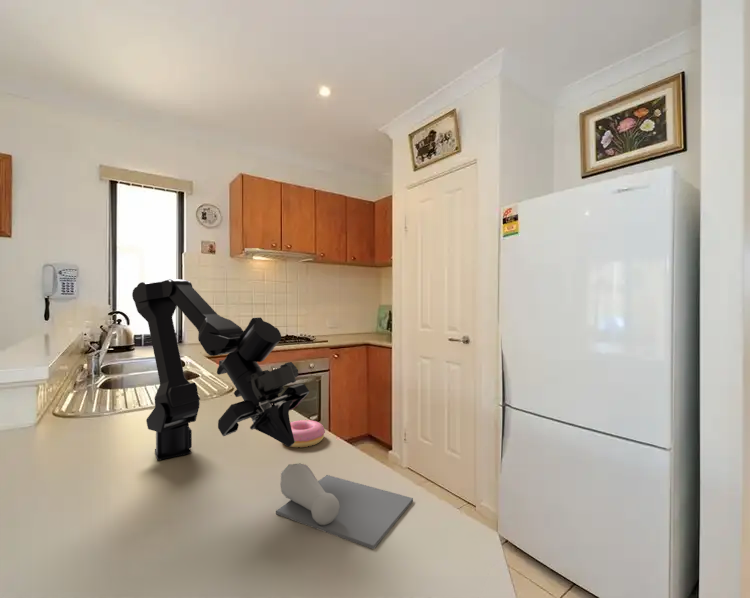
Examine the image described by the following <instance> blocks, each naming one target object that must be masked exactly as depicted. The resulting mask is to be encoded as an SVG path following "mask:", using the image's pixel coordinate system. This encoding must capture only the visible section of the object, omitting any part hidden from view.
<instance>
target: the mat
mask: <svg viewBox="0 0 750 598" xmlns="http://www.w3.org/2000/svg"><path fill="white" fill-rule="evenodd" d="M318 482H319V484H320V485H321V487H322V488H323V490H324V491H325V492H326V493H331V494H333V495H334V496H335V497H336V498H337V500H338V501H339V506H340V508H339V512H338V515H337V516H336V518H335V519H334V520H333V521H332V522H331V523H329V524H327V525H320V524H318V523H317V522H316V521H315V520H314V519H313V517H312V513H311V510H309V509H307V508H305V507H303V506H301V505H299V504H297V503H296V502H294V501H292V500H290V499H289V501H288V502H286V503H284V504H283V505H282V506H280V507H278V508H277V509H276V510H275V514H276V515H278V516H281V517H284V518H285V519H288V520H289V519H290V520H292V521H295V522H297V523H300V524H302V525H306V526H308V527H311V528H314V529H316V530H320V531H323V532H325V533H328V534H330V535H333V536H336V537H339V538H342V539H344V540H348V541H350V542H352V543H355V544H357V545H361V546H364V547H366V548H369V549H371V550H374V549H376V547H377V546H378V545H379V543H380V542H381V541H382V540H383V538H384V537H385V536H386V535H387V534H388V533H389V531H390V530H391V529H392V528H393V527H394V525H395V524H396V522H398V520H399V519H400V517H401V516H402V515H403V514H404V513H405V512H406V511H407V509H408V508H409V507H410V506H411V504H412V503H413V502H414V497H410V496H407V495H402V494H399V493H395V492H392V491H388V490H386V489H385V490H384V489H382V488H381V489H380V488H377V487H374V486H370V485H366V484H362V483H359V482H354V481H351V480H348V479H345V478H340V477H336V476H333V475H330V474H326V475H324V476H323V477H322V478H320V479H319V480H318Z"/></svg>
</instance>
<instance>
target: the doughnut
mask: <svg viewBox="0 0 750 598" xmlns="http://www.w3.org/2000/svg"><path fill="white" fill-rule="evenodd" d="M290 424H291V429H292V433H293V437H294V441H295V442H294V444H293V445H292V446H290V447H289V448H298V447H300V448H308V446H309V447H313V446H315V445H318V444H319V443H320V442H321V441H322V440H323V438H324V437H325V433H326V430H325V426H324V425H323V424H322V423H320V422H319V421H316V420H312V419H310V420H309V419H301V420H300V419H299V420H294V421H290ZM312 445H313V446H312Z"/></svg>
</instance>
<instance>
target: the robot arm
mask: <svg viewBox="0 0 750 598" xmlns="http://www.w3.org/2000/svg"><path fill="white" fill-rule="evenodd" d="M131 294H132V295H131V297H132V299H133V302H134V305H135V308H136V311H137V313H139V315H140V316H141V317H142V318H143V319H144V320H145V321H146V322H147V325H148V328H149V333H150V335H149V336H150V338H151V344H152V349H153V355H154V359H155V364H156V365H155V366H156V370H157V376H158V381H159V386H158V389H157V390H156V392H155V393H156V394H155V395H154V408H153V410H152V411H151V413H150V414H149V415H148V417H147V418H146V420H145V421H146V426H147V429H148V430H149V431H153V432H155V448H154V453H155V457H156V459H157V461H163V460H166V459H167V460H168V459H171V458H176V457H179V456H184V455H189V454H191V452H192V451H191V449H192V445H193V443H192V442H193V441H192V433H193V432H192V429H191V427H190V426H189V425H190V424H189V423H194V422H197V417H198V413H199V409H200V405H201V404H200V400H201V397H200V395H199V392H198V385H197V384H196V382H190V381H189V380H188V379H187V378H186V377H185V373H184V369H183V363H182V359H181V358H182V357H181V354H180V353H181V352H180V350H179V343H178V338H177V335H176V329H175V326H174V320H173V316H174V314H175V312H176V309H177V308H178V309H179V310H180V311H181V312H182V314H184V316H185V317H186V318H187V319H188V320H189V322H191V324H192V325H193V327H195V329H196V330H197V331H198V338H197V339H198V342H199V344H200V346H202V349H203V350H204V351H205V353H206V354H207V355H209V356H211V357H212V356H213V357H215V356H222V355H226V357H225V358H224V359H220V360H219V362H218V367H217V369H216V373H217V375H224V374H227V376H228V377H229V379H230V380H231V381H232V383H233V385H234V387H235V388H236V389H235V391H234V392H233V394H234V397H236V398H239V397H241V398H242V401H239V402H235V403H233V404H231V405H230V406H229V407H228V408H227V409H226V411H225V412H224V413H223V414H222V415H221V417H220V418H219V419H218V421H217V428H218V431H220V434H221V435H222V437H226V436H228V435H231V434H233V433H236V432H237V431H238V428H239V426H240V425H239V423H240V422H242V421H246V420H248V419H250V418H251V421H252V424H251V425H250V426H249V429H250V431H253V430H256V431H258V432H260V433H263V434H265V435H267V436H269V437H271V438H273V439H274V440H276V441H278V442H279V443H281V444H282V445H285V446H287V447H288V448H291V447H290V446H292V445H293V444H294V442H295V441H294V437H293V433H292V429H291V424H290V422H291V421H290V415H289V414H290V411H292V410H294V409H295V408H297V406H298V405H299V404H300V403H301V402H302V401H303V400H304V399H305V398H306V397H307V396H308V395H309V393H310V390H309V389H308V386H307V385H305V383H297V384H295V385H291V386H290V385H289V384H291V383H292V384H293V383H296V382H297V379H296V378H297V377H298V376H299V369H298V368H297V367H296V365H295V364H294V363H293V362H292V361H289V362H285V363H284V364H282V365H280V367H278V368H275V369H273V370H269V369H267V370H265V369H264V370H263V369H262V368H261V366H260V364H259V363H261V362H263V361H265V360H266V359H267V357H268V356H269V355H270V354H271V352H272V351H273V350H274V349H275V348H276V346H277V345H278V344H279V342H280V341H281V340H282V334H281V332H280V330H279V329H278V328H277V327H276V326H274V325H272V324H271V323H269V322H267V321H264V320H263V319H262V317H252V318H251V319H250V321H249V323H248V325H247V326H246V328H245V329H243V328H242V327H241V326H240V325H238V324H237V323H235V322H234V321H232V320H231V319H229V318H225V317H223V316H221V315H219V314H218V313H217V311H215V310H214V309H213V307H212V306H211V305H209V303H208V302H207V301H205V299H204V298H203V297H202V296H201V295H200V293H199V292H197V290H196V289H195V288H194V287H193V284H192V283H191V281H189V280H187V279H175V278H174V279H173V278H172V279H171V278H169V279H167V280H161V281H157V282H148V281H147V282H145V281H143V282H139V283H138V284H137V286H136V287H134V288H133V290H132V293H131ZM287 385H289V386H288V387H287V388H286V389H285V388H284V387H285V386H287ZM284 390H285V391H284ZM283 391H284V392H283ZM282 392H283V393H282ZM280 393H281V395H280V396H279V394H280Z"/></svg>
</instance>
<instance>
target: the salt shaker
mask: <svg viewBox="0 0 750 598" xmlns="http://www.w3.org/2000/svg"><path fill="white" fill-rule="evenodd" d="M315 475H316V474H314V472H313V471H312V470H311V468H310V467H309V465H307V464H304V463H301V462H300V463H299V462H298V463H293V464H292V463H290V464H288V465H287V466H286V467H285V468H284V469H283V470H282V471H281V472H280V491H281V493H282V495H283V496H284V497H285V498H287V499H288V500H289V501H290V500H292V501H294V502H296V503H297V504H299V505H301V506H303V507H305V508H307V509H309V510H311V513H312V517H313V519H314V520H315V521H316V522H317V523H318V524H320V525H327V524H329V523H331V522H332V521H333V520H334V519H335V518H336V516H337V515H338V512H339V508H340V506H339V501H338V500H337V498H336V497H335V496H334V495H333V494H331V493H326V492H325V491H324V490H323V488H322V487H321V485H320V484H319V482H318V481H319V480H318V479H317V477H316V476H315Z"/></svg>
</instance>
